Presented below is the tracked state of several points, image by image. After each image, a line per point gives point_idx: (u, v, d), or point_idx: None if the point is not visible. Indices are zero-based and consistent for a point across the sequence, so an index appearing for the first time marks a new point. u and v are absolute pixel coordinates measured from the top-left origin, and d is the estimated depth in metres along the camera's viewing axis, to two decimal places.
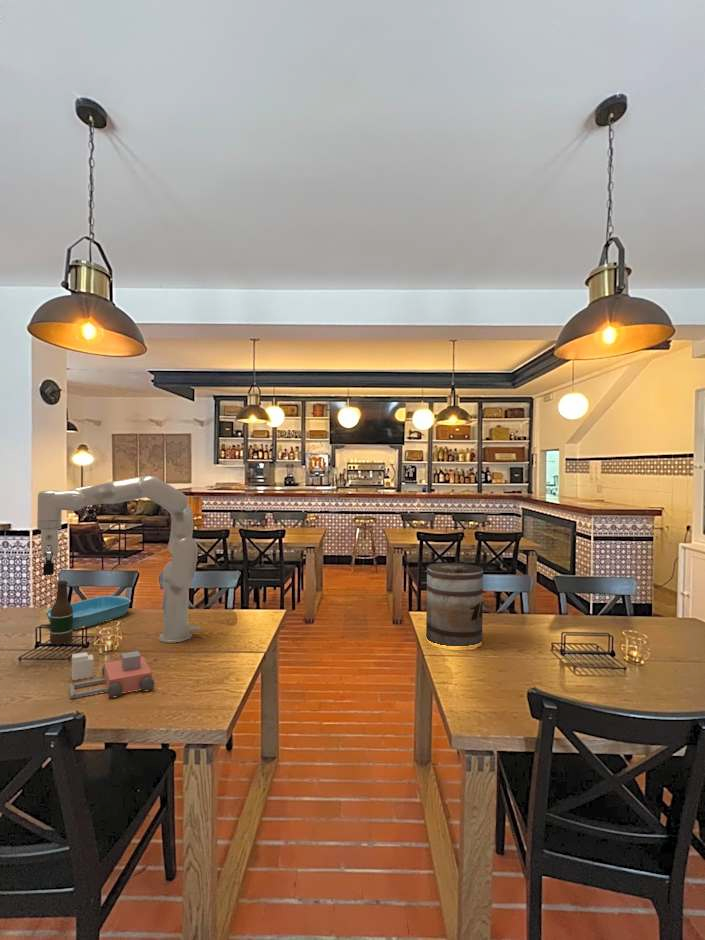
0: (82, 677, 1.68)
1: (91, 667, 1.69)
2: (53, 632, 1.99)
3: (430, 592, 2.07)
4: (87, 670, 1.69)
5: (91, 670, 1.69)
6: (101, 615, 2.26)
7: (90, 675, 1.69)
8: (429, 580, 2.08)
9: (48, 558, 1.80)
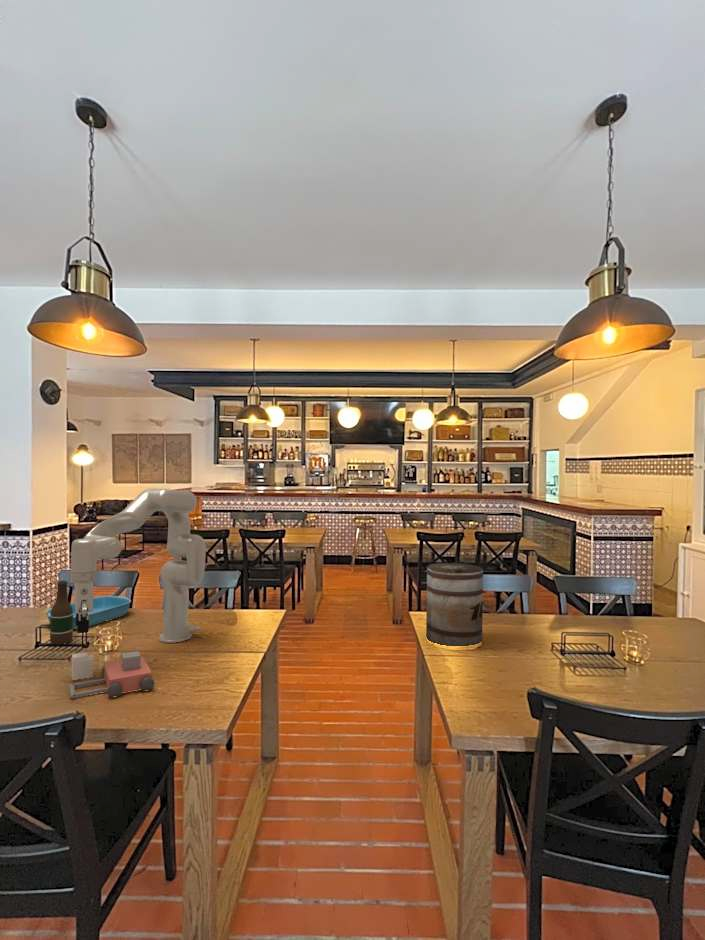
0: (82, 677, 1.68)
1: (91, 667, 1.69)
2: (53, 632, 1.99)
3: (430, 592, 2.07)
4: (87, 670, 1.69)
5: (91, 670, 1.69)
6: (100, 615, 2.26)
7: (90, 675, 1.69)
8: (429, 580, 2.08)
9: (83, 615, 1.63)
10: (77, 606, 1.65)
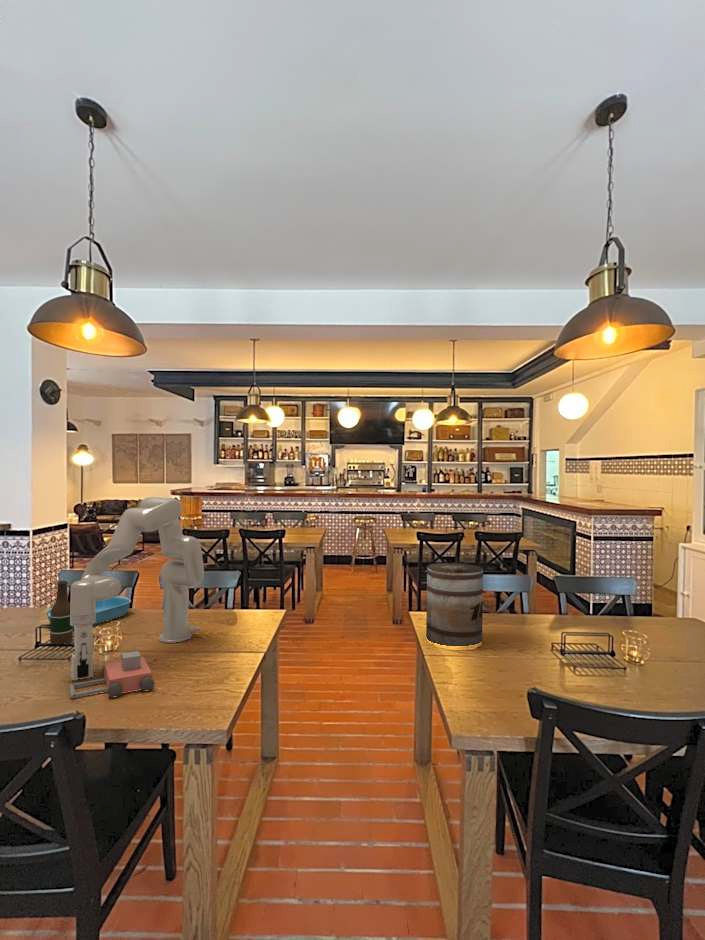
0: (82, 677, 1.68)
1: (91, 667, 1.69)
2: (53, 632, 1.99)
3: (430, 592, 2.07)
4: None
5: (91, 670, 1.69)
6: (101, 615, 2.26)
7: (90, 675, 1.69)
8: (429, 580, 2.08)
9: None
10: (77, 650, 1.65)
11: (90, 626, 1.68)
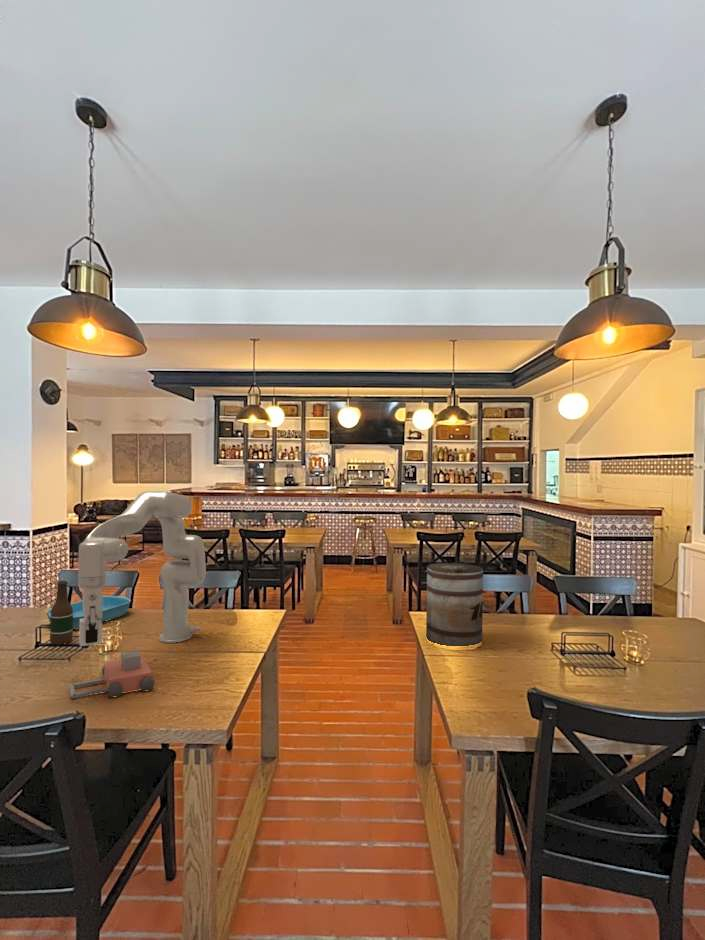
0: (90, 643, 1.58)
1: (100, 632, 1.59)
2: (53, 632, 1.99)
3: (430, 592, 2.07)
4: None
5: (100, 635, 1.59)
6: (102, 615, 2.26)
7: (99, 641, 1.59)
8: (429, 580, 2.08)
9: None
10: (85, 613, 1.55)
11: (99, 588, 1.58)
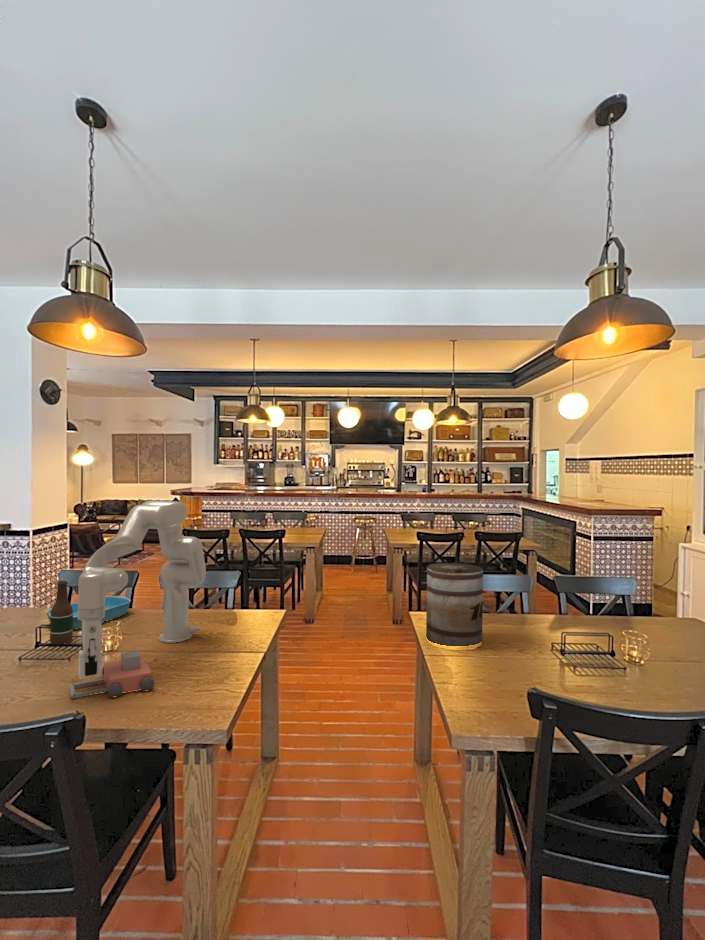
0: (90, 675, 1.57)
1: (99, 664, 1.59)
2: (53, 632, 1.99)
3: (430, 592, 2.07)
4: None
5: (99, 667, 1.59)
6: None
7: (98, 673, 1.59)
8: (429, 580, 2.08)
9: None
10: (85, 645, 1.55)
11: (99, 620, 1.57)
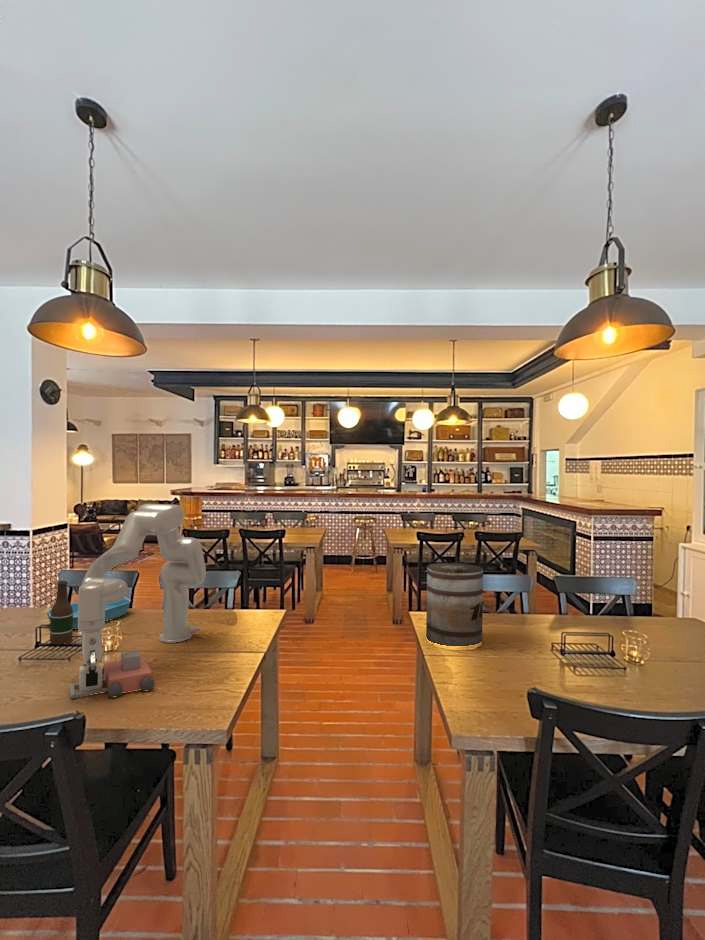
0: None
1: (100, 680, 1.59)
2: (53, 632, 1.99)
3: (430, 592, 2.07)
4: None
5: (100, 683, 1.59)
6: None
7: None
8: (429, 580, 2.08)
9: (92, 668, 1.54)
10: (85, 657, 1.55)
11: (99, 632, 1.57)
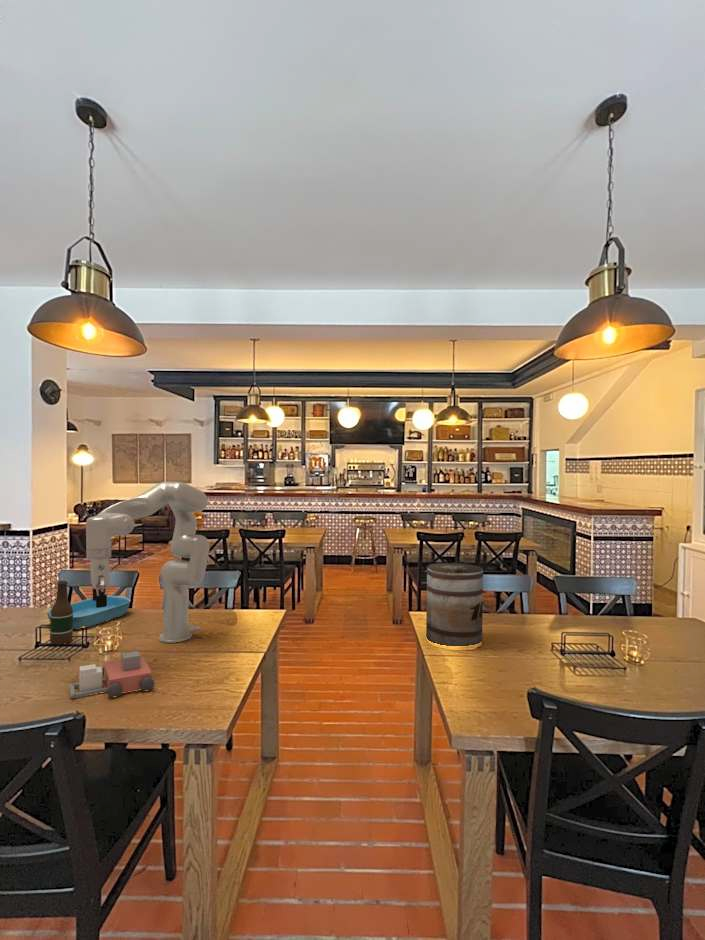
0: None
1: (100, 680, 1.59)
2: (53, 632, 1.99)
3: (430, 592, 2.07)
4: (96, 684, 1.59)
5: (100, 683, 1.59)
6: (103, 615, 2.27)
7: None
8: (429, 580, 2.08)
9: (102, 590, 1.68)
10: (95, 582, 1.69)
11: (106, 559, 1.71)
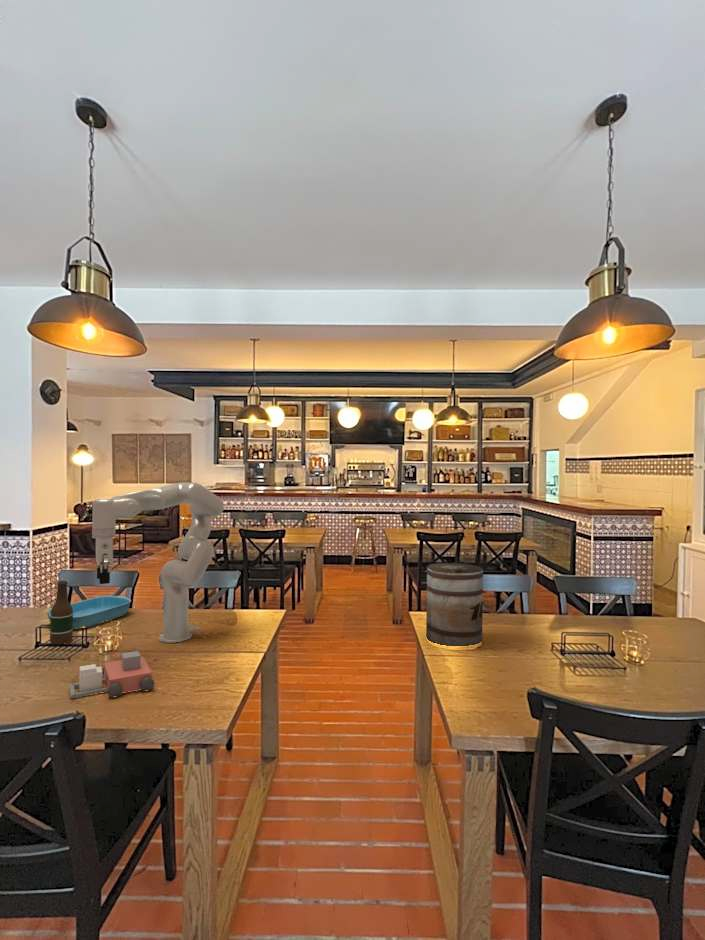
0: None
1: (100, 680, 1.59)
2: (53, 632, 1.99)
3: (430, 592, 2.07)
4: (96, 683, 1.59)
5: (100, 683, 1.59)
6: (102, 615, 2.26)
7: None
8: (429, 580, 2.08)
9: (105, 567, 1.78)
10: (99, 559, 1.80)
11: (111, 539, 1.83)
